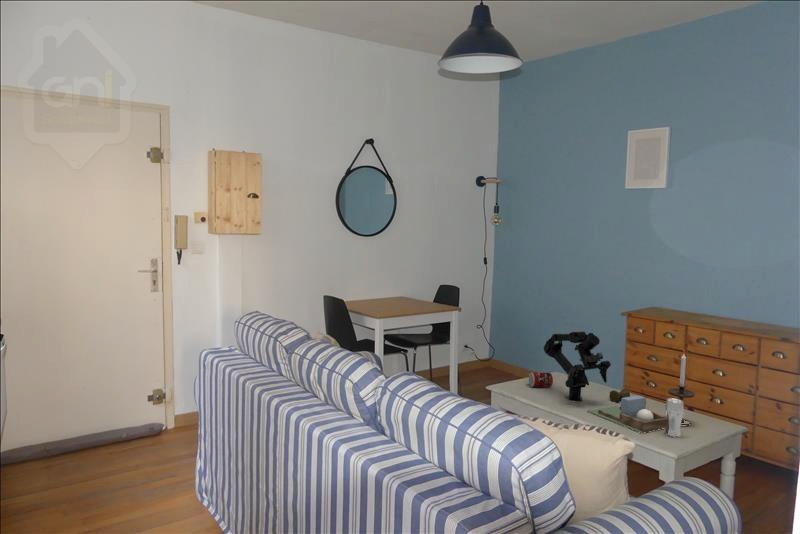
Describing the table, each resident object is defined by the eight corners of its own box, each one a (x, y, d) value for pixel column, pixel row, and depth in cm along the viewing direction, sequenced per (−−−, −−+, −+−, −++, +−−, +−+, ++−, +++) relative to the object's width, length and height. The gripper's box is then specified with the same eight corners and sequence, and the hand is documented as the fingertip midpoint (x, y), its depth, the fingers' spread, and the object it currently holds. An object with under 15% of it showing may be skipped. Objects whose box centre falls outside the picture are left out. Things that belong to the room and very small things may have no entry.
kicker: (620, 419, 267) (621, 398, 266) (637, 416, 272) (638, 395, 271) (627, 422, 264) (628, 400, 263) (644, 419, 269) (645, 397, 268)
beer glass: (660, 432, 255) (662, 398, 254) (676, 432, 255) (678, 398, 254) (669, 437, 248) (671, 403, 247) (685, 437, 248) (687, 403, 247)
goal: (587, 411, 280) (587, 402, 279) (615, 406, 289) (616, 397, 288) (641, 433, 252) (642, 423, 252) (671, 427, 261) (672, 417, 260)
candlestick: (661, 421, 268) (666, 346, 265) (673, 417, 275) (678, 343, 272) (685, 428, 260) (690, 350, 257) (697, 424, 266) (702, 347, 263)
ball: (649, 405, 259) (656, 421, 256) (649, 408, 266) (656, 423, 262) (633, 410, 261) (640, 426, 258) (633, 412, 267) (640, 428, 264)
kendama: (636, 410, 285) (602, 398, 302) (649, 408, 291) (615, 396, 307) (638, 398, 285) (603, 387, 302) (650, 396, 290) (616, 385, 307)
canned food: (553, 386, 317) (533, 386, 315) (548, 387, 324) (529, 387, 323) (552, 371, 319) (532, 371, 317) (547, 373, 326) (527, 373, 325)
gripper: (573, 349, 283) (585, 379, 275) (609, 344, 287) (621, 374, 279) (566, 359, 293) (577, 388, 284) (600, 354, 296) (612, 383, 288)
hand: (597, 383), depth 283 cm, fingers open, 9 cm apart
